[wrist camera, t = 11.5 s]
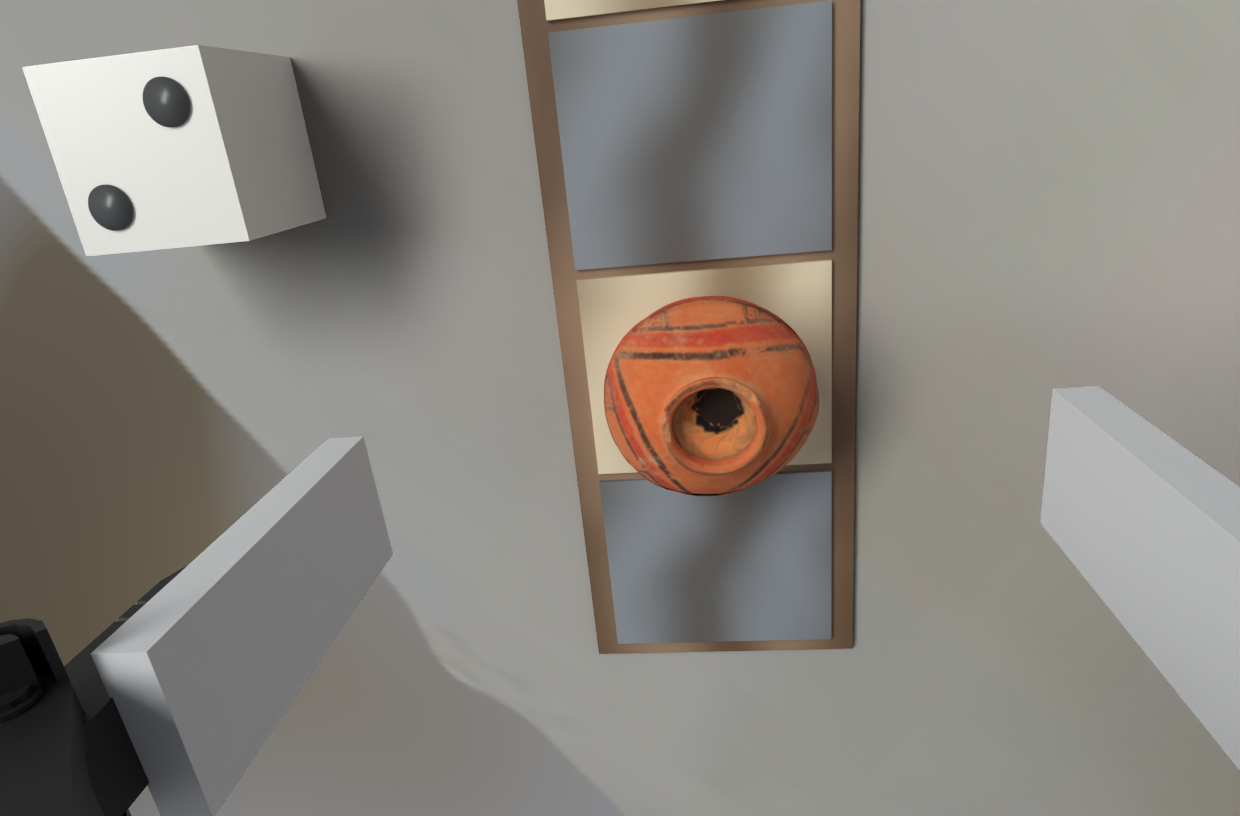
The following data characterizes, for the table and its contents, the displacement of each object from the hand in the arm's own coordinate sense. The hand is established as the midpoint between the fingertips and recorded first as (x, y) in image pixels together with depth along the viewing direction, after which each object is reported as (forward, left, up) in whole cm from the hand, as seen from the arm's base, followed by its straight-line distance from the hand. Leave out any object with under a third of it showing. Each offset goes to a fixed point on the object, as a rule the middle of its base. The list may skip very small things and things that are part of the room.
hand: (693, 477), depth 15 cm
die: (+18, -7, -18) cm, 26 cm away
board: (0, -1, -17) cm, 17 cm away
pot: (0, +3, -17) cm, 17 cm away
